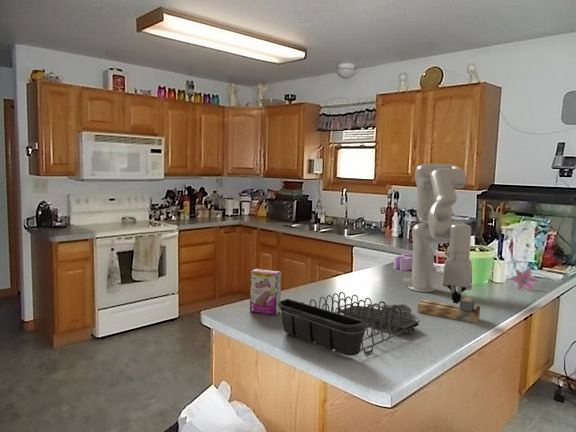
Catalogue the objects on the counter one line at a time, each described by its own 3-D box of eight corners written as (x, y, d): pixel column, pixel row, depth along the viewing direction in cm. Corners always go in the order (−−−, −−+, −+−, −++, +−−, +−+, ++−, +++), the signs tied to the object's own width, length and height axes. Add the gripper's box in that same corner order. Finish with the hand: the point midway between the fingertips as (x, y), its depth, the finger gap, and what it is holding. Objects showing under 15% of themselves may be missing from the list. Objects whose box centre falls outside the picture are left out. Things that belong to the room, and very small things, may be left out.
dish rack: (271, 334, 152) (272, 300, 151) (354, 309, 182) (355, 280, 181) (350, 368, 127) (351, 327, 126) (430, 332, 157) (432, 298, 156)
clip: (406, 272, 252) (407, 259, 251) (388, 268, 261) (389, 256, 260) (427, 267, 264) (428, 256, 263) (409, 264, 274) (410, 252, 273)
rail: (417, 312, 179) (418, 300, 178) (421, 308, 184) (422, 296, 184) (476, 323, 167) (477, 310, 167) (479, 318, 172) (480, 306, 172)
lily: (504, 289, 221) (510, 275, 215) (510, 277, 229) (517, 262, 223) (529, 301, 215) (536, 286, 210) (535, 287, 223) (542, 273, 217)
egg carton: (385, 318, 171) (386, 308, 171) (379, 312, 179) (380, 302, 178) (412, 318, 172) (413, 307, 172) (405, 312, 180) (406, 302, 179)
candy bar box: (249, 312, 174) (249, 270, 173) (254, 308, 179) (254, 268, 177) (276, 316, 171) (277, 273, 169) (280, 312, 175) (281, 271, 174)
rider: (459, 312, 170) (459, 299, 170) (462, 309, 175) (462, 296, 175) (471, 315, 168) (472, 302, 168) (474, 311, 173) (475, 298, 172)
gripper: (436, 255, 172) (433, 301, 174) (478, 260, 165) (474, 308, 166) (441, 252, 179) (438, 297, 181) (481, 256, 171) (478, 303, 173)
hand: (456, 302), depth 173 cm, fingers closed
